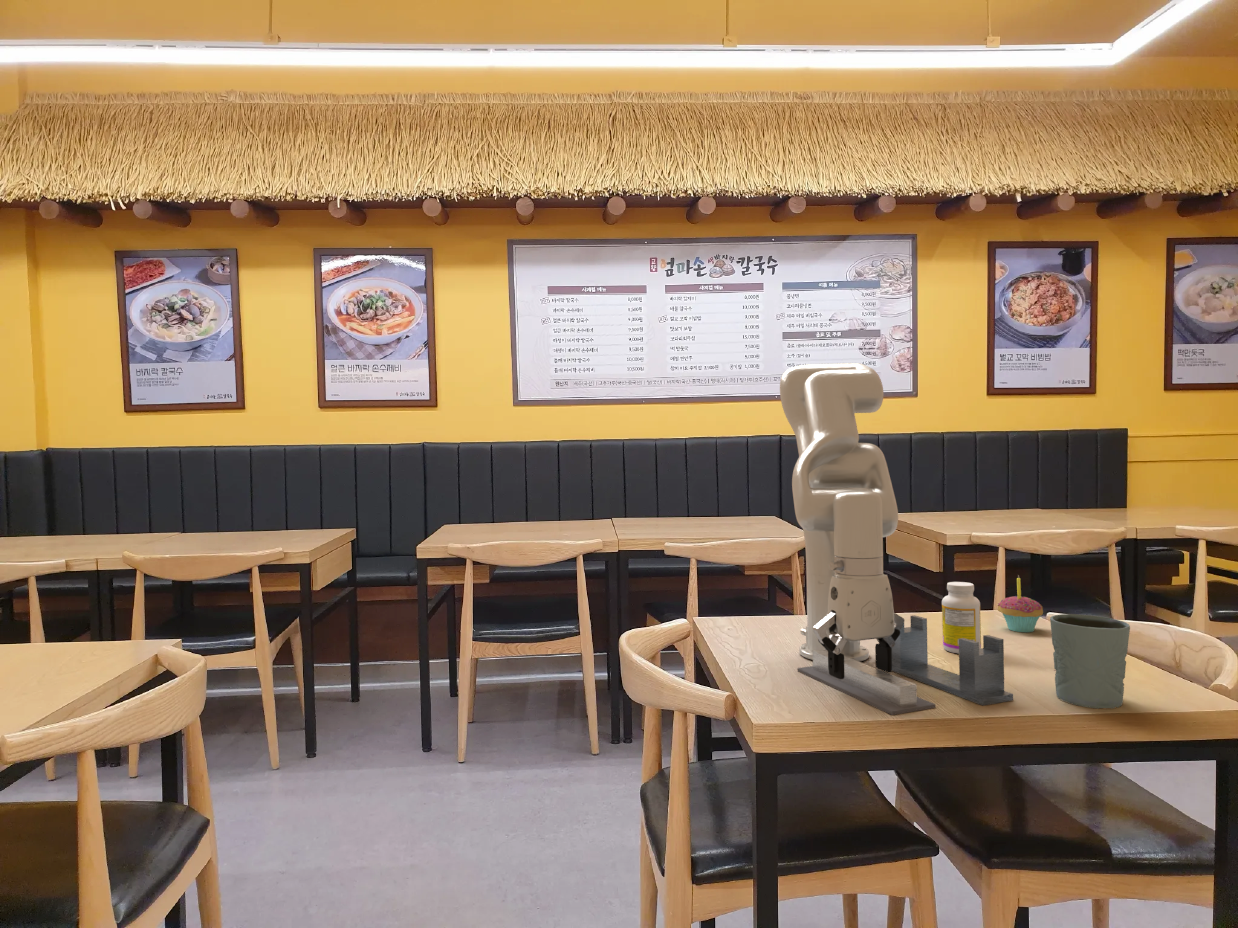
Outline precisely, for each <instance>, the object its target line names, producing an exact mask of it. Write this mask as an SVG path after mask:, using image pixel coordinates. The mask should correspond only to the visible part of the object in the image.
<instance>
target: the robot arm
mask: <svg viewBox="0 0 1238 928" xmlns="http://www.w3.org/2000/svg"><path fill="white" fill-rule="evenodd" d="M779 381H780V382H779V396H780V397H779V398H780V402H781V407H782V410H783V413H784V415H785V418H786V419H787V422H788V423H789V426H790V427H791V430H792V431H793V433H794V435H795V438H796V439H795V440H796V445H797V451H798V458H797V460H796V462H795V465H794V467H793V472H792V477H791V478H792V479H791V486H792V487H791V489H792V497H793V505H794V513H795V518H796V522H797V523H798V525H799V526H800V527H801V528H802V530H803V532H802V533H803V536H804V546H805V561H806V562H805V564H806V565H805V566H806V567H805V569H806V571H805V572H806V613H807V614H806V616H807V617H806V619H807V620H806V622H807V623H806V625H807V626H805V628H804V627H802V628H801V629H800V634H801V635H802V636H805V642H804V643H802V644H801V645H800V646H799V654H800V655H801V656H802V657H804V658H805V659H808V660H812V661H813V651H816V650H824V649H825V650H827V651H828V670H829V674H830V675H831V676H833V677H836V678H838V679H844V656H846V657H848V658H851V659H853V660H856V661H858V662H862V661H866V660H868V659H869V657H870V651H869V649H868V648H867V647H865V646H863V645H861V642H862V641H867V640H876V641H877V642H878V643H875V645H874V646H875V647H874V648H875V649H874V651H875V653H874V654H875V655H874V656H875V660H874V661H875V668H876V669H879V670H881V671H884V672H886V673H892V672H893V671H892V647H894V646H895V641H896V639H897V638H898V637H899V635H900V630H901V628H902V626H903V624H904V625H905V618H904V617H902V616H901V615H899V614H897V613H895V611H894V600H893V593H892V589H891V585H890V579H889V577H888V574H884V541H883V538H886V537H889V536H891V535H893V534H894V533H895V532H896V530H897V528H898V524H899V509H898V505H897V500H896V496H895V495H896V494H895V492H894V488H893V484H892V480H891V477H890V472H889V471H890V470H889V468H888V463H887V460H886V457H885V454H884V453H883V451H882V450H881V448H880V447H879V446H877V445H876V444H873V443H869V442H859V440H860V435H859V430H858V425H857V421H856V415H855V414H871V413H876V412H877V411H878V410H879V409H881V407H882V405H883V402H884V387H883V386H884V385H883V382H882V380H881V378H880V375H879V374H878V373H877V372H876V370H875V369H873V368H872V367H870V366H867V365H866V364H863V363H857V362H848V363H847V362H842V363H841V362H840V363H838V362H837V363H810V364H799V365H796V366H792V367H789V368H788V369H786V370H785V371H784V372H783V373H782V374H781V378H780V380H779Z"/></svg>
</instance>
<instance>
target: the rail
mask: <svg viewBox="0 0 1238 928" xmlns="http://www.w3.org/2000/svg"><path fill="white" fill-rule="evenodd" d="M812 666H813V668H814V669H816V670H819V671H821V672H823V673H825V674H828V675H830V674H829V670H828V651H827V650H825V649H824V650H816V651H813V660H812ZM830 676H831V675H830ZM832 677H833V676H832ZM834 678H836V677H834ZM836 679H838V678H836ZM839 680H841V681H843V682H845V683H848V684H850V685H852V686H854V687H856V688H859V689H861V690H863V691H865V692H868V693H870V694H872V695H874V696H876V697H879V698H881V699H883V700H885V701H888V702H890V703H892V704H894V705H897V706H899V707H905V706H911V705H917V697H918V696H917V694H918V693H917V691H918V690H917V684H916V683H914V682H912V681H909V680H906V679H904V678H901V677H899V676H897V675H894V674H891V673H890V672H885V671H883V670H880V669H878V668H876V667H873V666H871V665H868V664H866V663H863V662H862V661H860V662H858V661H856V660H853V659H851V658H848V657H846V656H844V679H839Z"/></svg>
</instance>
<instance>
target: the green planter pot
mask: <svg viewBox="0 0 1238 928" xmlns="http://www.w3.org/2000/svg"><path fill="white" fill-rule="evenodd" d="M1049 622H1050V632H1051V644H1052V647H1053V650H1054V651H1053V652H1052V653H1053V667H1054V668H1053V669H1054V670H1055V676H1054V683H1055V694H1056V697H1057V698H1058V699H1060V700H1061V701H1063V702H1064V703H1069V704H1071V705H1073V706H1078V707H1079V706H1080V707H1084V708H1089V709H1090V708H1091V709H1099V708H1111V709H1116V708H1115V707H1117V708H1120V707H1122V705H1123V702H1124V693H1125V684H1124V679H1125V678H1126V667H1127V661H1126V657H1127V654H1128V649H1129V641H1130V640H1129V637H1130V631H1131V625H1130V623H1127V622H1125V621H1123V620H1120V619H1116V618H1112V617H1106V616H1105V617H1104V616H1098V615H1092V614H1091V615H1090V614H1080V613H1079V614H1076V613H1064V614H1061V613H1060V614H1053V615H1051V616H1050V617H1049ZM1119 706H1120V707H1119Z"/></svg>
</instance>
